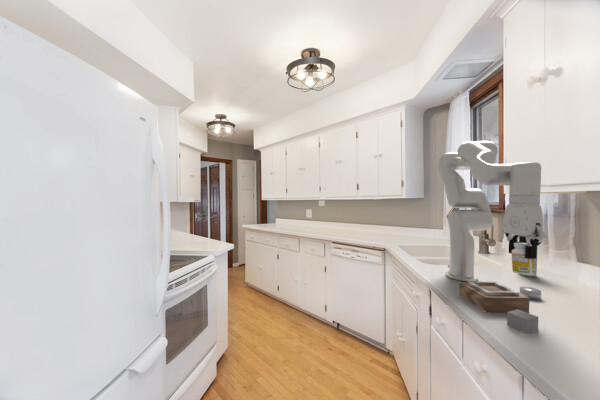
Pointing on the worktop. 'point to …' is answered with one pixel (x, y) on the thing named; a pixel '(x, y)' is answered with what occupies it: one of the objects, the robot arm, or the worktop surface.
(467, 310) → the worktop surface
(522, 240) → the spray can
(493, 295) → the walnut stand
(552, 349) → the worktop surface
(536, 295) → the metal tin
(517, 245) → the supplement bottle
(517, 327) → the grey rubber block
